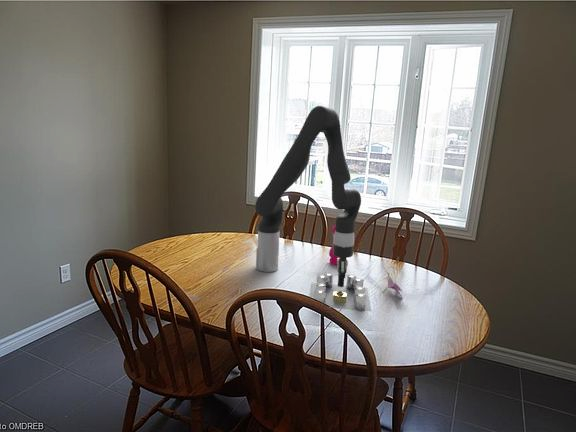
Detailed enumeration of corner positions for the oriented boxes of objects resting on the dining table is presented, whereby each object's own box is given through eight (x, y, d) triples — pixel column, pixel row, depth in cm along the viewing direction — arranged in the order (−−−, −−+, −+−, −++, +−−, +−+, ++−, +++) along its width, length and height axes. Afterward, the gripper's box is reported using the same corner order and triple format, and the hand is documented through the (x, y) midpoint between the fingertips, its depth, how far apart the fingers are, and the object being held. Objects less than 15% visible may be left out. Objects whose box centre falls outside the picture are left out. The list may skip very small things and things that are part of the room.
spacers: (314, 306, 143) (315, 293, 141) (316, 283, 162) (317, 271, 161) (365, 311, 141) (366, 298, 140) (361, 287, 161) (362, 275, 160)
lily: (398, 307, 150) (412, 285, 149) (370, 290, 152) (383, 268, 152) (397, 303, 161) (409, 283, 161) (371, 287, 164) (383, 267, 164)
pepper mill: (343, 266, 185) (347, 224, 180) (327, 264, 186) (330, 222, 182) (344, 261, 192) (348, 220, 187) (329, 259, 193) (332, 218, 188)
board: (305, 324, 132) (305, 321, 132) (311, 285, 163) (311, 282, 163) (374, 331, 130) (374, 328, 130) (366, 290, 161) (367, 287, 161)
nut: (333, 302, 146) (333, 296, 146) (333, 296, 152) (333, 290, 151) (346, 303, 146) (346, 297, 145) (345, 297, 151) (346, 291, 151)
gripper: (333, 237, 158) (330, 278, 162) (333, 247, 145) (330, 292, 150) (353, 238, 157) (349, 280, 162) (354, 249, 145) (351, 294, 149)
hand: (340, 286), depth 156 cm, fingers closed
